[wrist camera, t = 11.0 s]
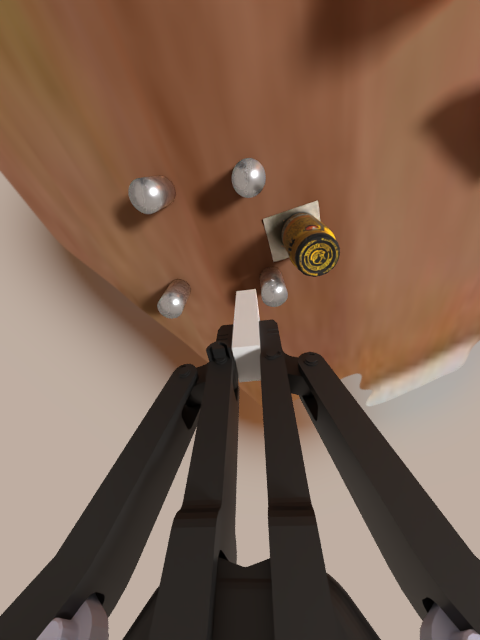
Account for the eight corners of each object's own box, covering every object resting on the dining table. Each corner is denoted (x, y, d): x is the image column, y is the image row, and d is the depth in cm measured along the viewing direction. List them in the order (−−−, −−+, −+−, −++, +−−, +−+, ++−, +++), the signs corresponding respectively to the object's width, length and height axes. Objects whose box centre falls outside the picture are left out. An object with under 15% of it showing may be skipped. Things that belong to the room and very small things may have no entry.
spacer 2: (166, 280, 43) (153, 298, 37) (187, 277, 42) (177, 295, 37) (173, 299, 45) (162, 319, 39) (193, 297, 45) (184, 317, 39)
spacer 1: (144, 178, 34) (123, 180, 28) (170, 173, 34) (154, 175, 28) (154, 207, 36) (136, 216, 30) (178, 203, 36) (165, 211, 30)
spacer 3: (232, 162, 33) (229, 161, 27) (261, 156, 32) (263, 155, 26) (236, 194, 35) (234, 200, 29) (263, 189, 34) (266, 194, 28)
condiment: (323, 246, 39) (349, 275, 29) (273, 261, 40) (281, 293, 30) (317, 200, 35) (345, 214, 25) (262, 218, 37) (268, 239, 27)
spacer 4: (258, 268, 41) (260, 285, 35) (281, 265, 41) (287, 282, 35) (260, 288, 43) (262, 308, 37) (282, 286, 43) (288, 305, 37)
